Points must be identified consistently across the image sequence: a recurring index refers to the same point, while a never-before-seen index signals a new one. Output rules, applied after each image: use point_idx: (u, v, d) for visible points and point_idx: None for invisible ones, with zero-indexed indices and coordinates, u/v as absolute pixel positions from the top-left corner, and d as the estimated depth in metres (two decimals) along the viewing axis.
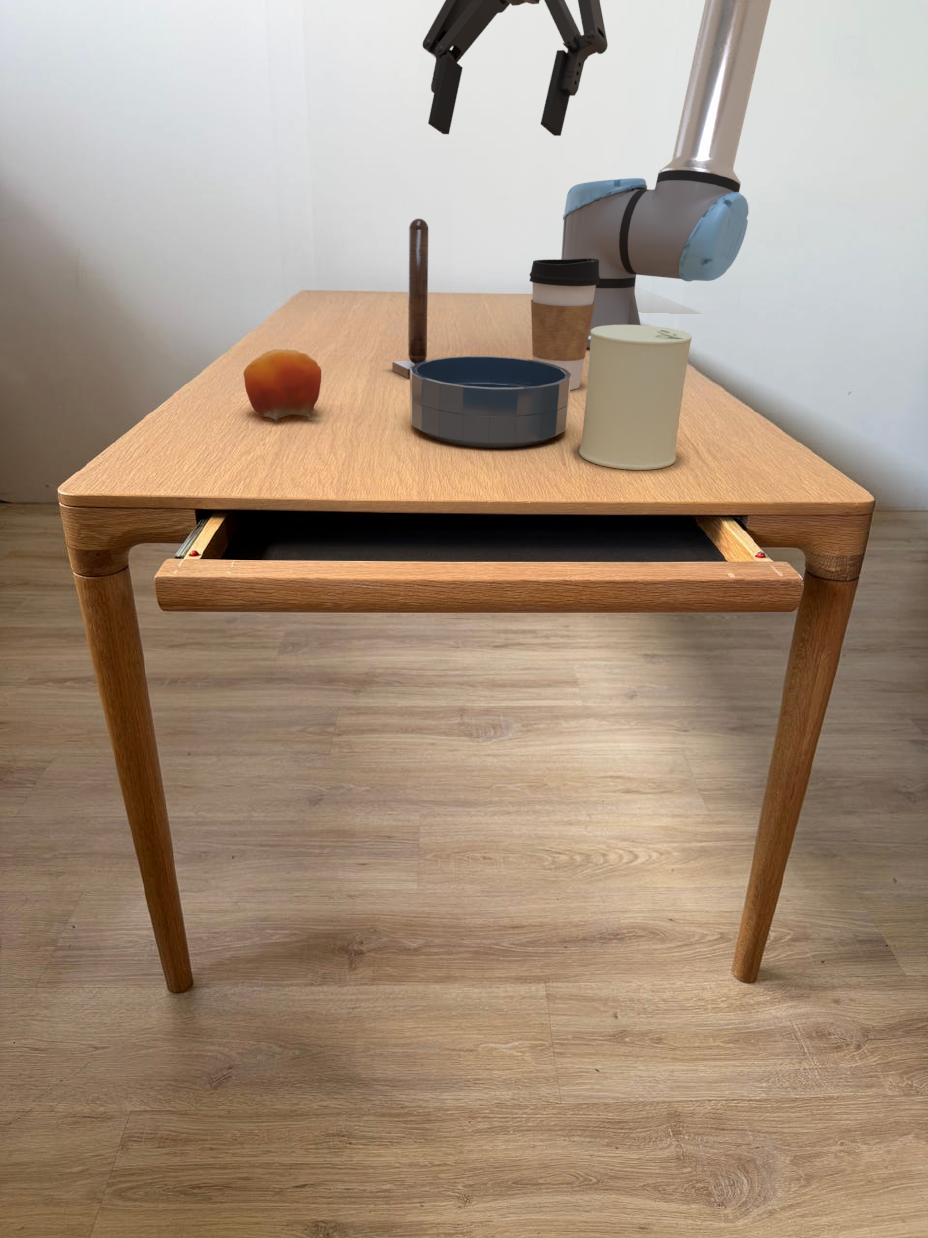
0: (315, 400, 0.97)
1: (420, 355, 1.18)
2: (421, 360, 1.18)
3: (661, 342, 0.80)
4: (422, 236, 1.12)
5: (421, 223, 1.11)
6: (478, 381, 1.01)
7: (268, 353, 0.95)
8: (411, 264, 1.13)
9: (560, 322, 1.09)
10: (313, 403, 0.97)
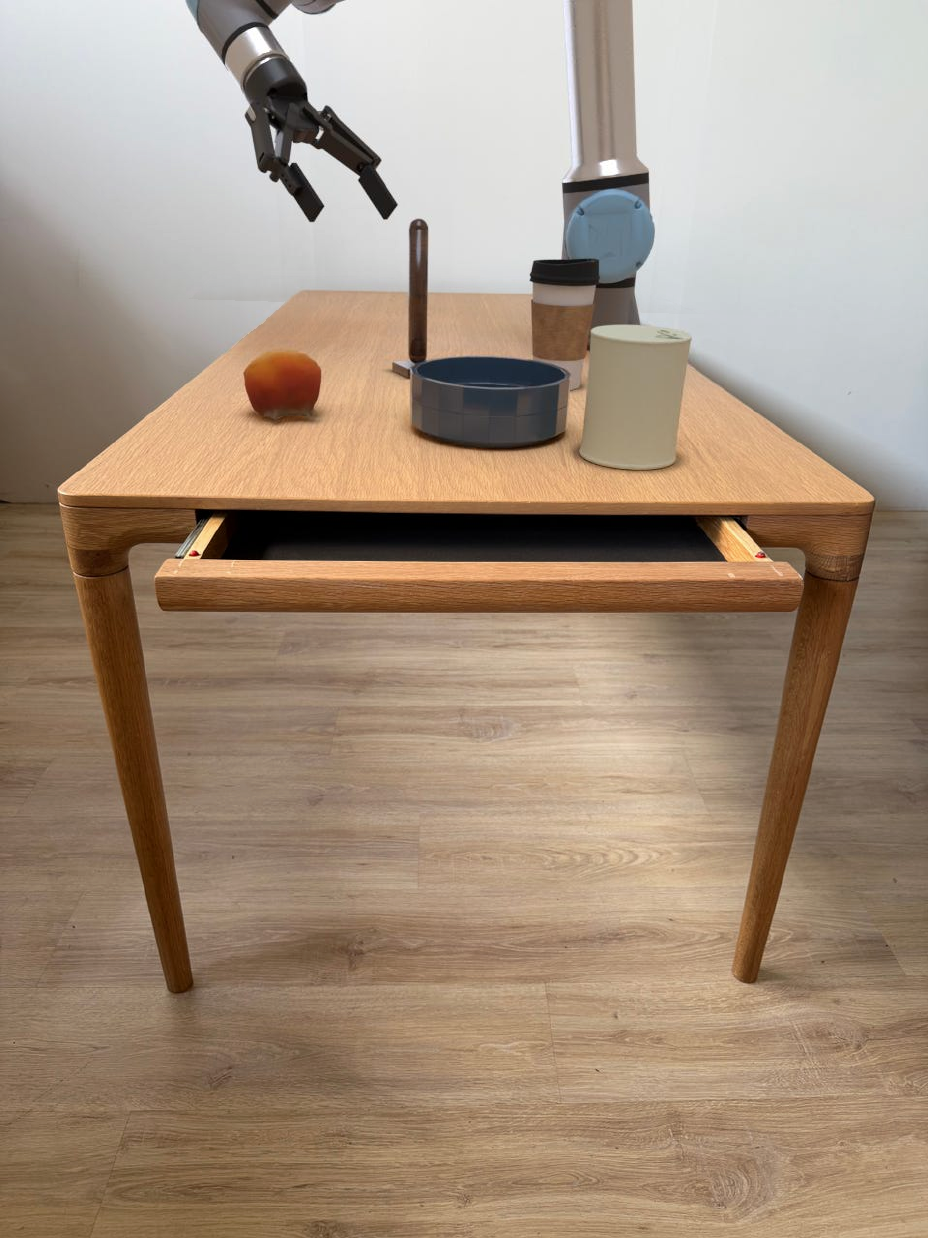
0: (315, 400, 0.97)
1: (420, 355, 1.18)
2: (421, 360, 1.18)
3: (661, 342, 0.80)
4: (422, 236, 1.12)
5: (421, 223, 1.11)
6: (478, 381, 1.01)
7: (268, 353, 0.95)
8: (411, 264, 1.13)
9: (560, 322, 1.09)
10: (313, 403, 0.97)
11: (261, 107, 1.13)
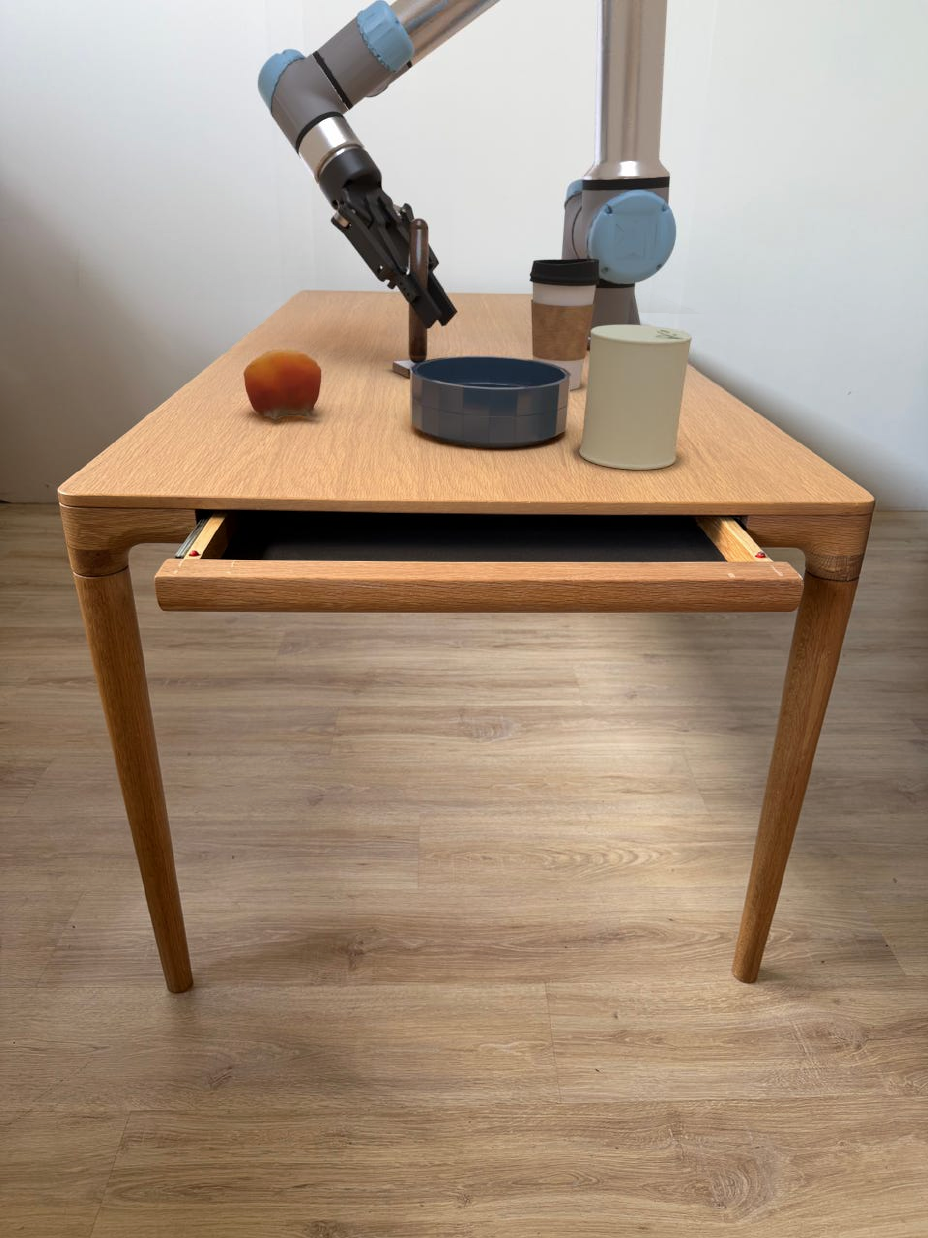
0: (315, 400, 0.97)
1: (420, 355, 1.18)
2: (421, 360, 1.18)
3: (661, 342, 0.80)
4: (422, 236, 1.12)
5: (421, 223, 1.11)
6: (478, 381, 1.01)
7: (268, 353, 0.95)
8: (411, 264, 1.13)
9: (560, 322, 1.09)
10: (313, 403, 0.97)
11: (350, 211, 1.11)
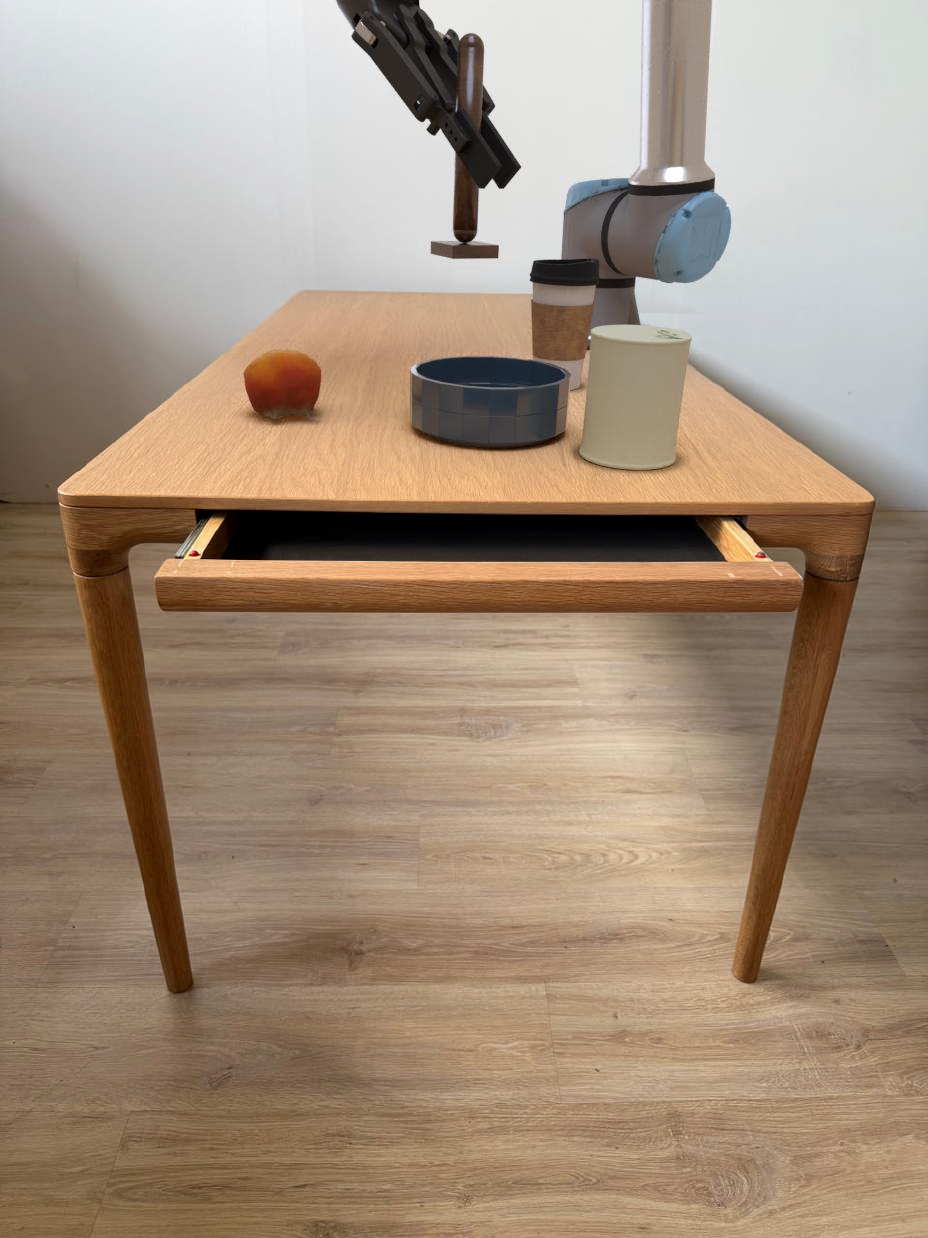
0: (315, 400, 0.97)
1: (469, 229, 0.88)
2: (470, 236, 0.89)
3: (661, 342, 0.80)
4: (476, 57, 0.82)
5: (474, 38, 0.81)
6: (478, 381, 1.01)
7: (268, 353, 0.95)
8: (460, 99, 0.84)
9: (560, 322, 1.09)
10: (313, 403, 0.97)
11: (378, 22, 0.81)
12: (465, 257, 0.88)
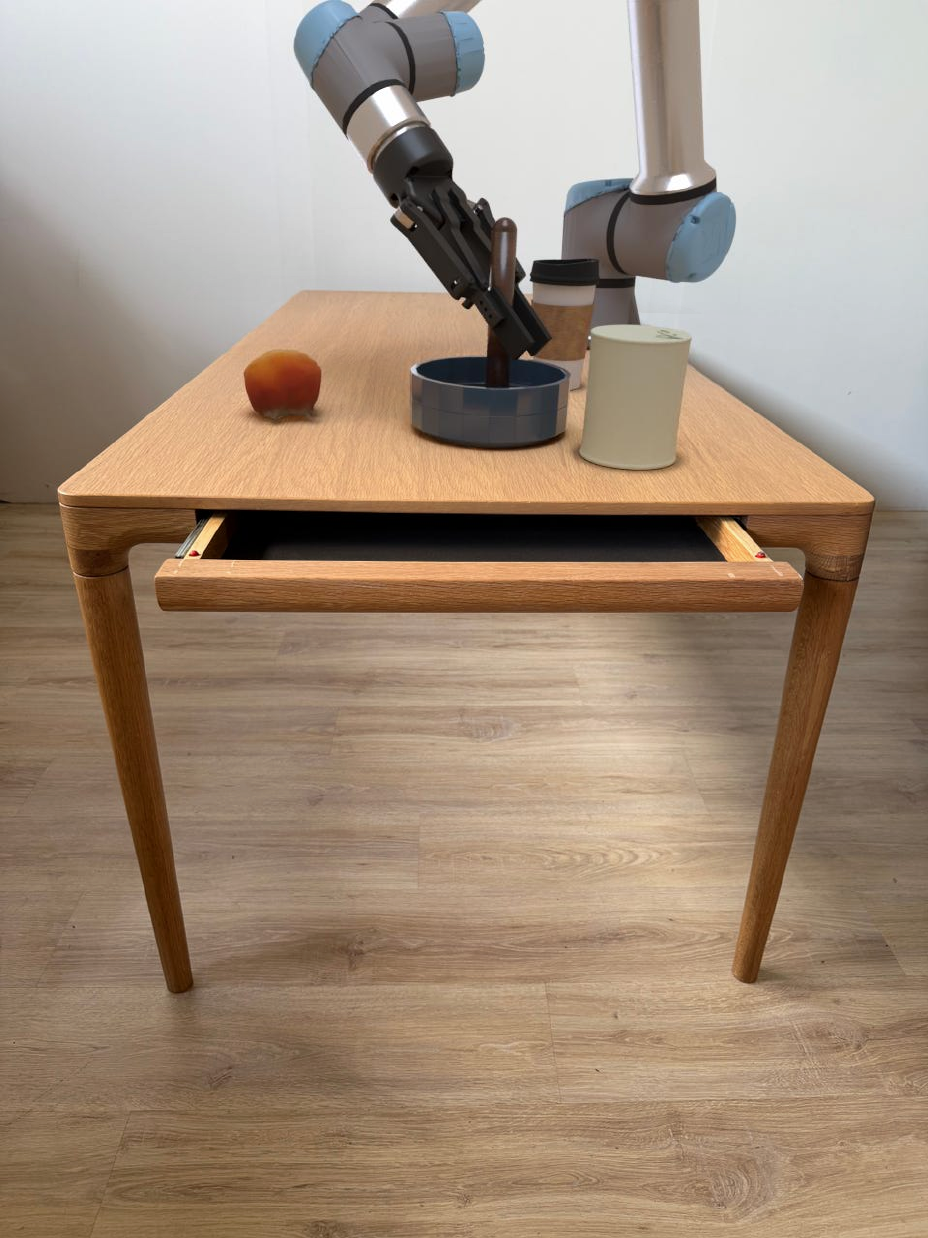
0: (315, 400, 0.97)
1: None
2: None
3: (661, 342, 0.80)
4: (510, 240, 0.86)
5: (508, 224, 0.85)
6: (478, 381, 1.01)
7: (268, 353, 0.95)
8: (494, 277, 0.87)
9: (560, 322, 1.09)
10: (313, 403, 0.97)
11: (416, 208, 0.85)
12: None
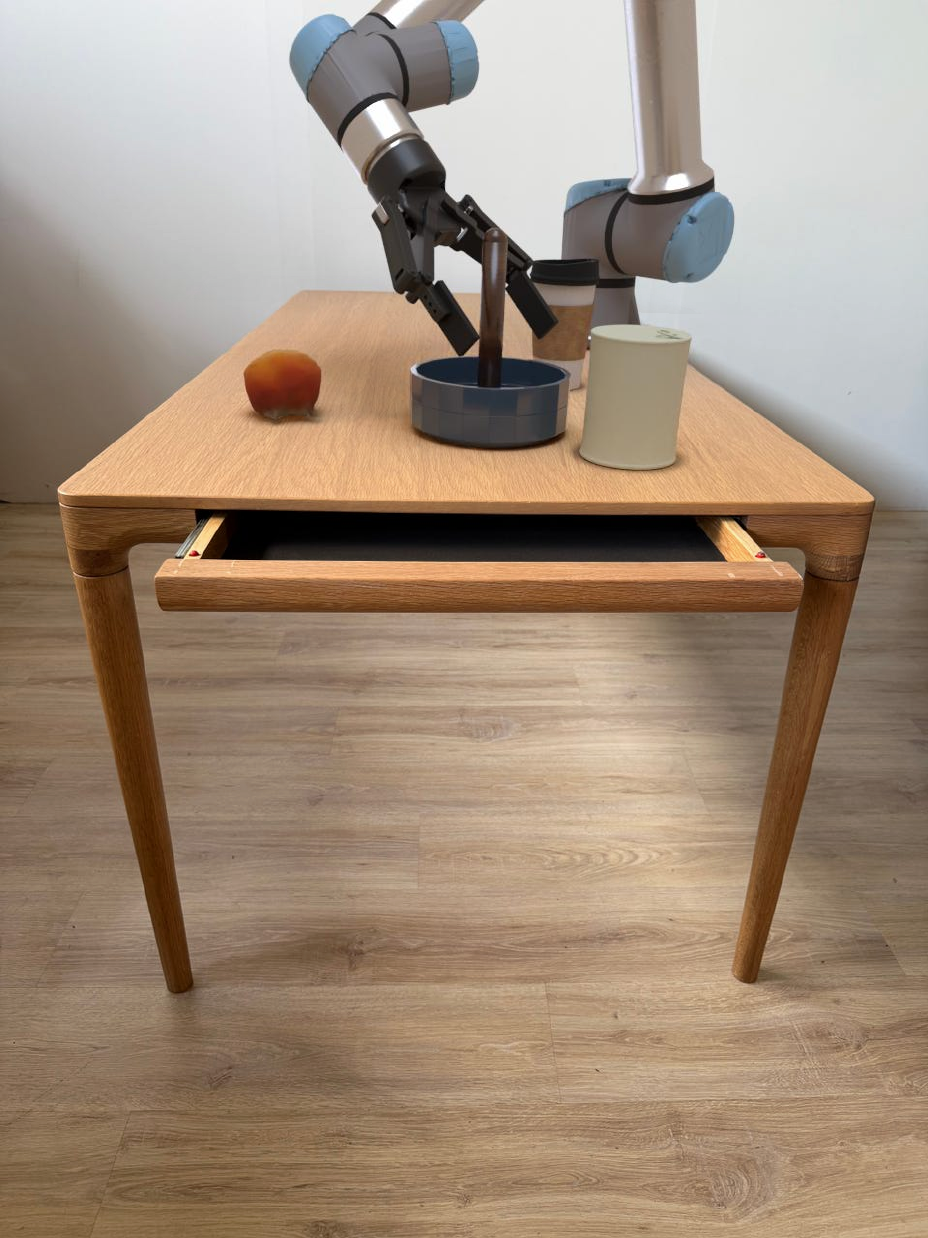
0: (315, 400, 0.97)
1: None
2: None
3: (661, 342, 0.80)
4: (500, 251, 0.87)
5: (499, 234, 0.87)
6: None
7: (268, 353, 0.95)
8: (485, 286, 0.89)
9: (560, 322, 1.09)
10: (313, 403, 0.97)
11: (395, 206, 0.86)
12: None
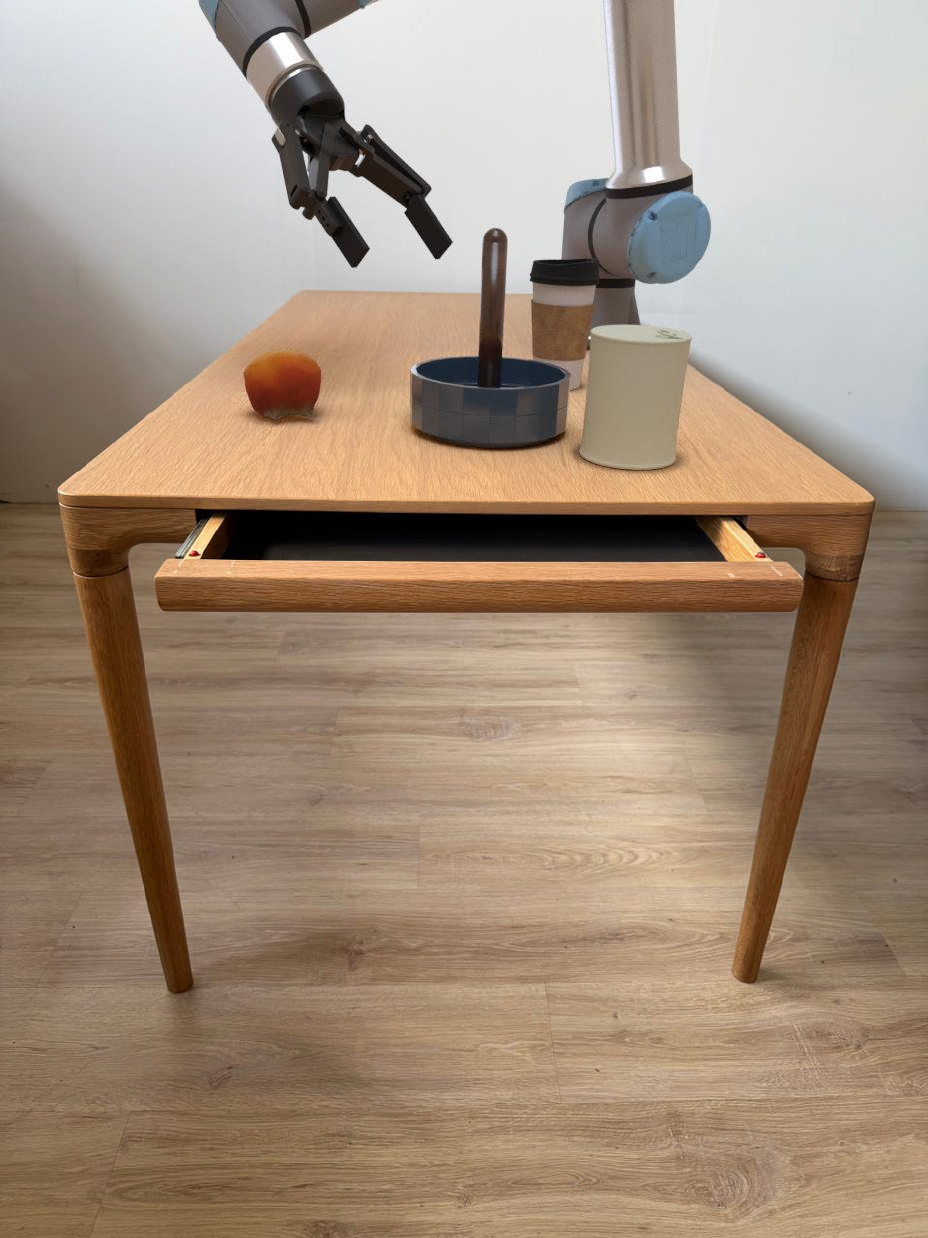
0: (315, 400, 0.97)
1: None
2: None
3: (661, 342, 0.80)
4: (500, 251, 0.87)
5: (499, 234, 0.87)
6: None
7: (268, 353, 0.95)
8: (485, 286, 0.89)
9: (560, 322, 1.09)
10: (313, 403, 0.97)
11: (292, 129, 0.94)
12: None
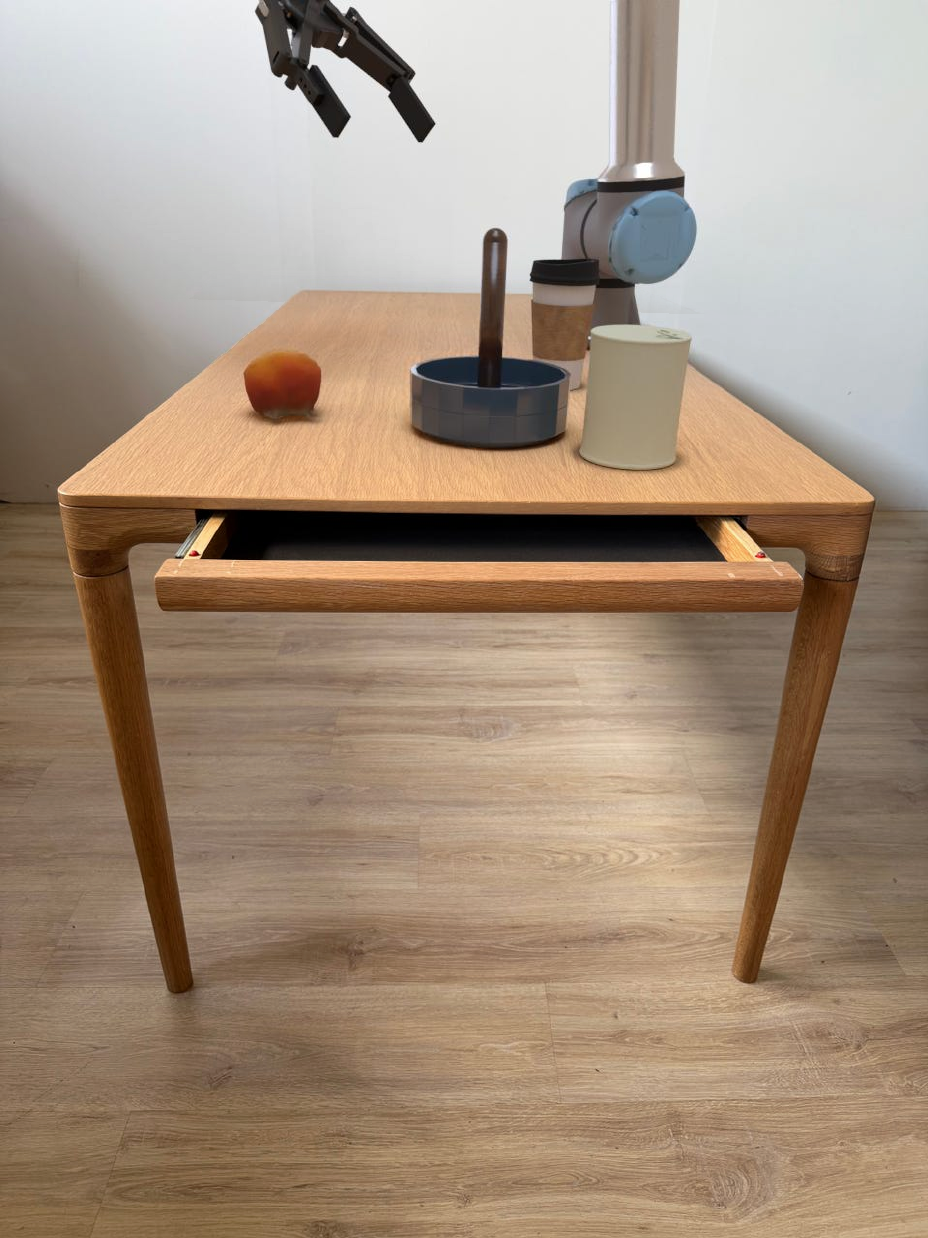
0: (315, 400, 0.97)
1: None
2: None
3: (661, 342, 0.80)
4: (500, 251, 0.87)
5: (499, 234, 0.87)
6: None
7: (268, 353, 0.95)
8: (485, 286, 0.89)
9: (560, 322, 1.09)
10: (313, 403, 0.97)
11: (275, 0, 0.94)
12: None
